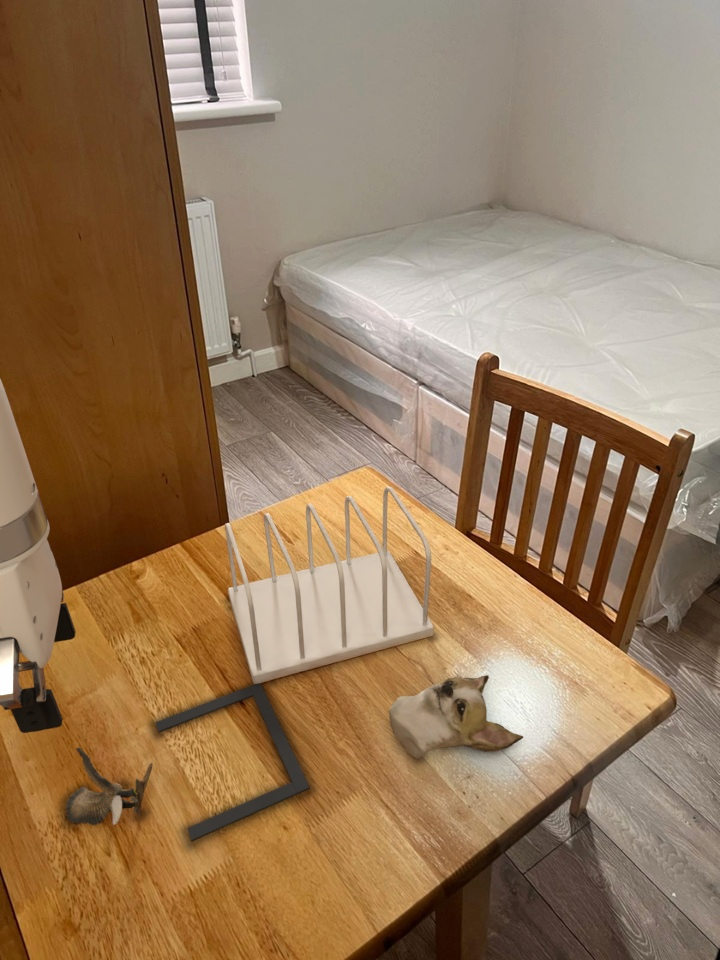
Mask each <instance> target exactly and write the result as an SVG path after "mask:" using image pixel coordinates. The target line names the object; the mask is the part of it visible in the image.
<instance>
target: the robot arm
mask: <svg viewBox="0 0 720 960" xmlns="http://www.w3.org/2000/svg"><path fill="white" fill-rule="evenodd" d="M50 531H51V528H50V523H49V520H48V517H47V514H46V511H45V508H44V505H43V501H42V499H41V496H40V493H39V490H38V487H37V483H36V481H35V478H34V475H33V472H32V468H31V465H30V462H29V459H28V457H27V452H26V450H25V447H24V444H23V440H22V438H21V434H20V431H19V428H18V425H17V423H16V420H15V416H14V413H13V410H12V407H11V404H10V402H9V398H8V395H7V392H6V389H5V386H4V384H3V382H2V379H1V378H0V706H1V707H2V708H3V709H4V711H8V710H10V712H11V714H12V716H13V718H14V721H15V723H16V725H17V727H18V730H19V731H20V732H21V733H22V734H28V733H36V732H41V731H45V730H50V729H57V728H60V727H62V725H63V719H64V718H63V716H62V713H61V710H60V708H59V705H58V703H57V701H56V698H55V695H54V693H53V690H52V688H50V689H49V688H47V687H46V676H45V669H44V668H45V666H46V665H47V664H48V663H49V662H50V660H51V658H52V653H53V649H54V645H55V643H59V642H64V641H71V640H73V639H74V638H75V637H76V634H77V633H76V628H75V625H74V622H73V619H72V616H71V613H70V611H69V607H68V605H67V602H64V599H65V595H64V594H65V593H64V590H63V584H62V580H61V576H60V572H59V568H58V565H57V562H56V558H55V557H54V553H53V551H52V548H51V546H50V544H49V540H48V537H49V534H50ZM20 653H21V654H22V656H23V657H25V658H26V659H27V661H26V660H25V661H20ZM26 671H31V672H32V679H33V680H32V682H33V686H32V687H27V688H26V687H25V688H22V686H21V684H20V672H26Z"/></svg>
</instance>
